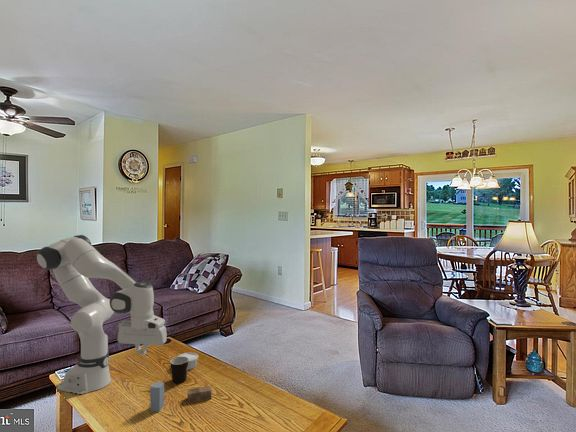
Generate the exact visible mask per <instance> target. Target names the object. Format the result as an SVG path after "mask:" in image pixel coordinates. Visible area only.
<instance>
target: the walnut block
mask: <svg viewBox="0 0 576 432" xmlns="http://www.w3.org/2000/svg"><path fill="white" fill-rule="evenodd" d="M206 400H212V386H211V385H207V386H200V387H195V388H189V389H188V388H187V403H188V404H189V403H194V402H200V401H201V402H202V401H206Z"/></svg>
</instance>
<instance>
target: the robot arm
mask: <svg viewBox="0 0 576 432" xmlns="http://www.w3.org/2000/svg"><path fill="white" fill-rule="evenodd" d="M35 257H36V261H37V263H38V265H39V267H41V268H42V269H43V270H47V271H51V270H52V271H53V274H54V277H55V279H56V281H57V284H58V285H59V286H60V288H61V289H62V291H63V292H64V294H65V296H66V298H67V299H68V300H69V301H70V302H72V303H75V304H77V305H79V306H80V307H81V308H79V309H78V310H77V311H76V312H75V313H74V314H73V315H72V317H71V318H70V325H71V328H72V329H73V330H74V331H75V332H77V334H78V336H79V339H80V355H79V356H78V357H76V358H75V362H76V364H75V365H74V366H72V367H71V368H70V369H69V370H67V372H65V374H64V376H63V381H61V382H60V383H59V384H58V385H57V387H56V390H58V391H61V392H66V393H70V392H73V393H72V394H75V393H77V394H76V395H79V394H82V395H85V394H87V393H90V392H94V391H97V390H98V391H99V390H100V389H101V390H102V389H103V388H105V387H107V386H108V385H110V383H112V377H111V374H110V368H109V362H110V355H109V348H108V347H109V346H108V345H109V343H108V342H109V338H108V337H109V336H108V335H107V334H106V333H105V332H104V329H103V324H104V323H105V322H106V321H108V320H109V319H110V318H111V317H112V316H113V315H114V313H116V314H118V315H119V314H127V313H129V314H130V320H125V319H124V320H122V321H120V322H119V323H118V333H117V342H118V343H119V344H129V345H131V344H132V345H134V347H135V349H136V350H137V355H146V354H147V349H148V348H149V346H163V345H164V344H166V342H167V338H168V337H167V336H168V334H167V327H166V326H165V323H166V320H165V319H164V318H162V317H159V316H157V315H155V314H154V305H155V294H154V287H153V285H152V284H151V283H149V282H145V281H137V280H136V279H135V278H134V277H132V276H131V275H130V274H129V273H127V272H126V271H125V270H124V269H122V268H121V267H120V266H119V265H117V264H116V263H114V262H112V261H111V260H109V259H107V258H106V257H104V255H102V254H101V253H100V251H98V250H97V249H96V248H95V247H94V246H93V244H92V242H91V240H90V239H89V238H88V237H87V236H86V235H84V234H77V235H74V236H71V237H67V238H64V239H61V240H59V241H56V242H53V243H51V244H49V245H48V246H44V247H42V248H40V249H39V250H37V252H36V256H35ZM90 279H105V280H110V281H111V282H112V281H113V282H114V283H115V284H116V285H118V286H119V287H120V288H121V289H120V290H118V291H116V292H114V293H112V295H111V296H110V298H107V297H106V296H104V295H103V294H102V293H100V291H99V290H97V289H96V288H95V286H94V285H93V283H92V282H91V280H90ZM141 345H143V348H142V347H141ZM84 393H85V394H84Z"/></svg>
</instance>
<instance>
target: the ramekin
mask: <svg viewBox="0 0 576 432" xmlns="http://www.w3.org/2000/svg"><path fill="white" fill-rule="evenodd" d="M181 356H184V357H187V358H188V359H189V361H188V369H187V371H190V370H193V369H194V368H196V367H197V364H198V360H199V354H197V353H196V352H184V353H181V354H179V355H177V356H176V357H181Z"/></svg>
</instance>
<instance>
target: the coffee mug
mask: <svg viewBox="0 0 576 432" xmlns="http://www.w3.org/2000/svg"><path fill="white" fill-rule="evenodd" d="M188 361H189V359H188V358H187V357H184V356H181V357H177V356H176V357H174V358H171V360H170V361H169V365H170V371H171V373H170V374H171V380H172V384H174V385H179V384H180V385H181V384H184V383H185V382H186V381H187V375H188V370H187V369H188Z"/></svg>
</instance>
